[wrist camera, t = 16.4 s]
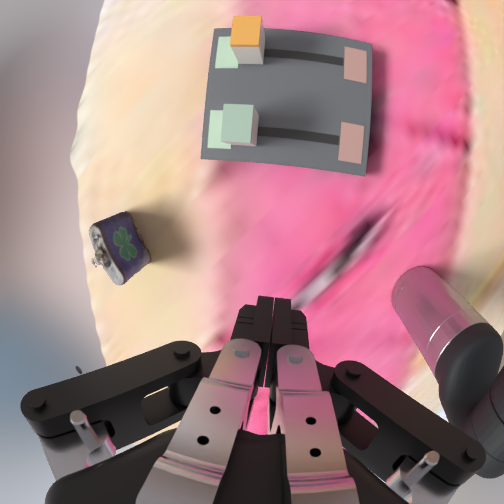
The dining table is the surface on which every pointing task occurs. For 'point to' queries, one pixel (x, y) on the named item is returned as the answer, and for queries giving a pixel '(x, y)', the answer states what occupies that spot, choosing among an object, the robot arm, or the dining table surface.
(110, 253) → the flask
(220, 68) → the dual slider panel
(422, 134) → the dining table surface
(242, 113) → the block
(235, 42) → the block
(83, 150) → the dining table surface
